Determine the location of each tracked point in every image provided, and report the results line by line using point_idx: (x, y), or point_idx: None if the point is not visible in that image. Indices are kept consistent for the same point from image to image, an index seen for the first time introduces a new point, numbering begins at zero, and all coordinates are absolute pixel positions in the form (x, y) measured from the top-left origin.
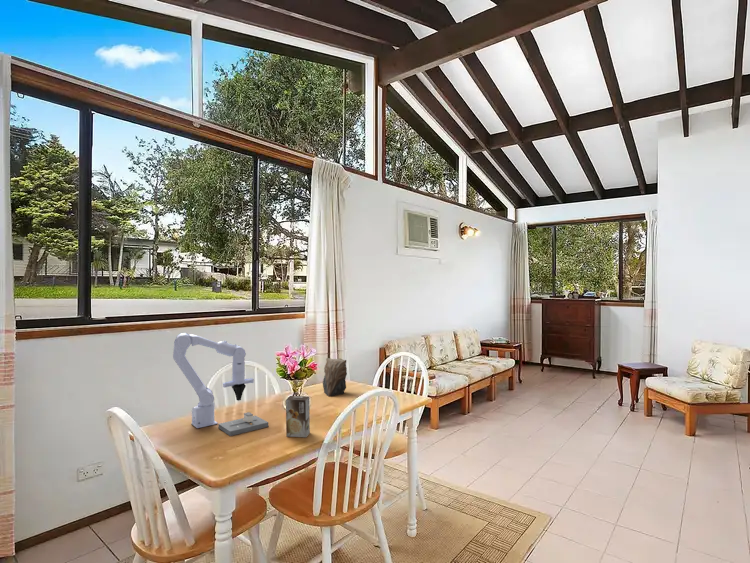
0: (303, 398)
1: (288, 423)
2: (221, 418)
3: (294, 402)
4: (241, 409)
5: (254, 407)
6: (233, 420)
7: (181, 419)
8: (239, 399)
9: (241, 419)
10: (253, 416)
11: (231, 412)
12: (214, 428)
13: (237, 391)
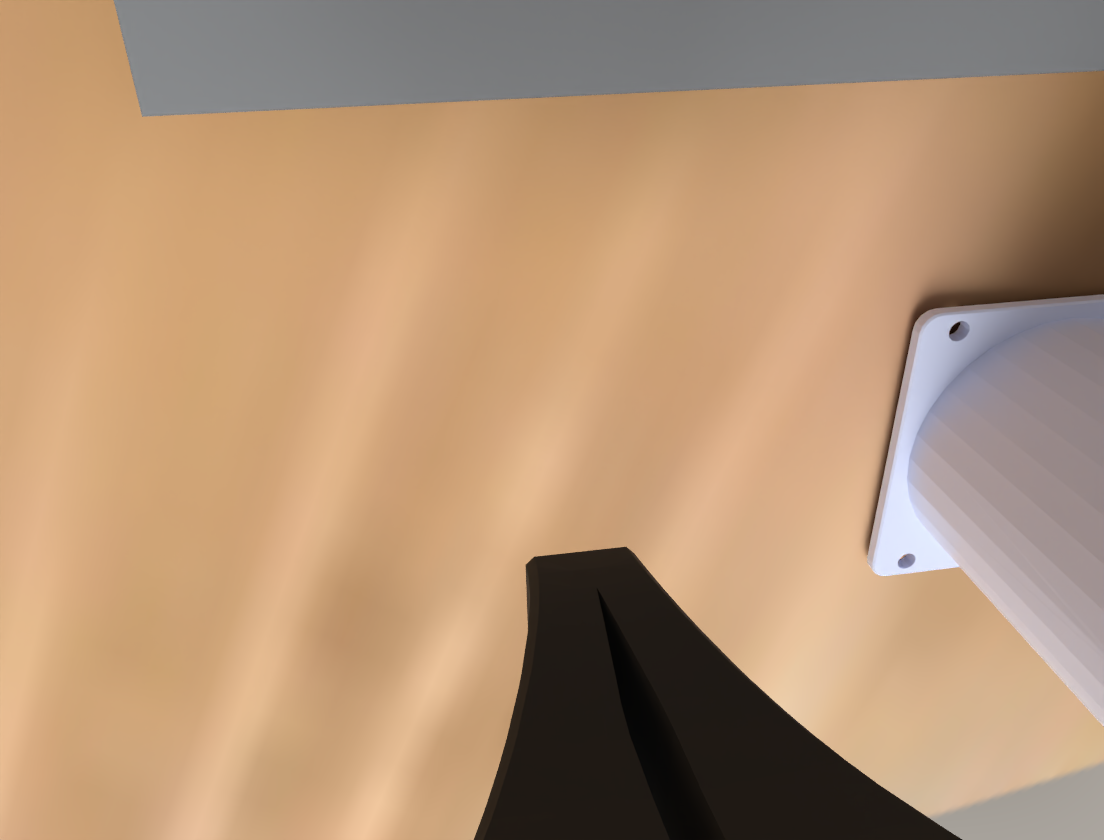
0: None
1: None
2: (715, 551)
3: None
4: (266, 795)
5: (17, 802)
6: (768, 78)
7: (1093, 750)
8: (595, 562)
9: (587, 18)
10: (222, 54)
11: (461, 734)
12: (1092, 98)
13: (878, 809)
